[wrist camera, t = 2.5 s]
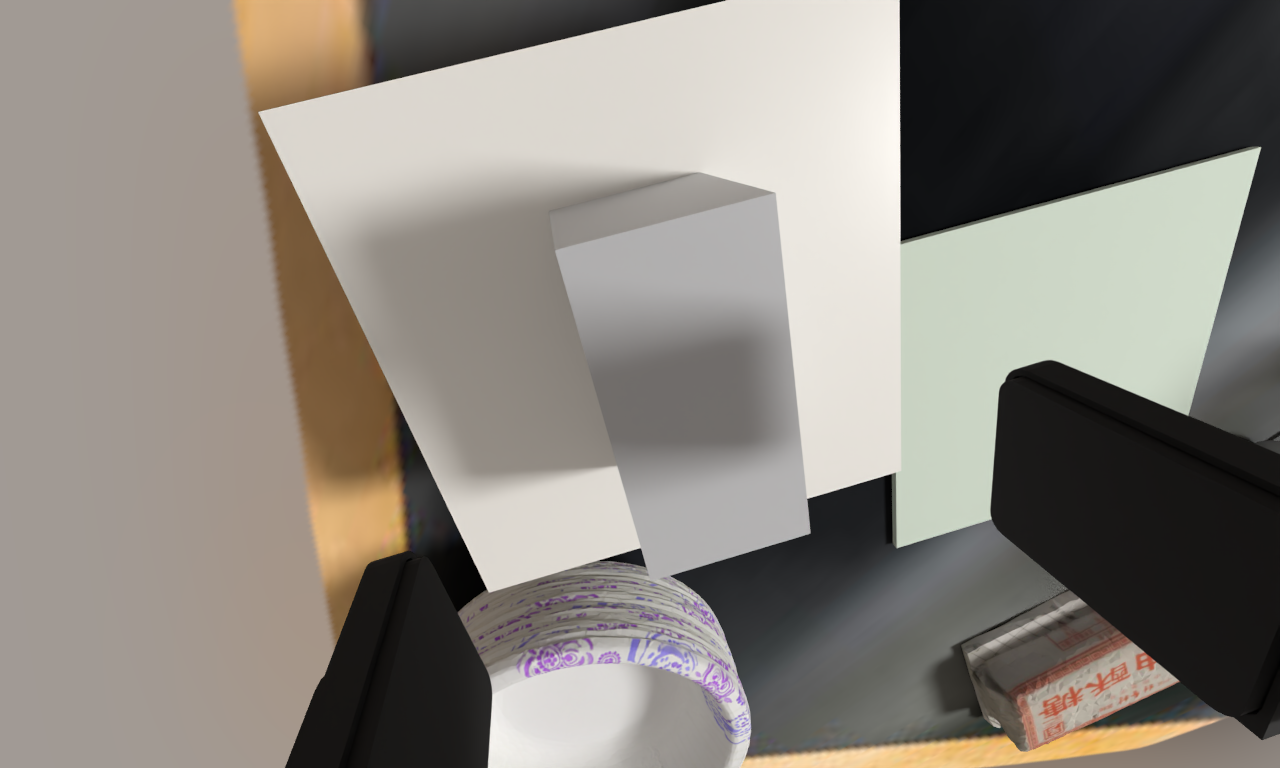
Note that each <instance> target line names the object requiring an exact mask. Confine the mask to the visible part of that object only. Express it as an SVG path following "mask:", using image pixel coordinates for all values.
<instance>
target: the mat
mask: <svg viewBox="0 0 1280 768" xmlns="http://www.w3.org/2000/svg"><path fill="white" fill-rule="evenodd" d="M1260 149H1261V147H1248V148H1245V149H1241V150H1237V151H1234V152H1230V153H1226V154H1223V155H1219V156H1215V157H1211V158H1208V159H1204V160H1200V161H1197V162H1193V163H1189V164H1185V165H1182V166H1178V167H1174V168H1171V169H1167V170H1163V171H1159V172H1156V173H1152V174H1148V175H1145V176H1141V177H1137V178H1134V179H1130V180H1126V181H1122V182H1119V183H1115V184H1111V185H1108V186H1104V187H1100V188H1096V189H1093V190H1089V191H1085V192H1082V193H1078V194H1074V195H1070V196H1067V197H1063V198H1059V199H1056V200H1052V201H1048V202H1045V203H1041V204H1037V205H1033V206H1030V207H1026V208H1022V209H1019V210H1015V211H1011V212H1007V213H1004V214H1000V215H996V216H993V217H989V218H985V219H981V220H978V221H974V222H970V223H967V224H963V225H959V226H956V227H952V228H948V229H944V230H941V231H937V232H933V233H930V234H926V235H922V236H918V237H915V238H911V239H907V240H904V241H900V279H901V471H899V472H896V473H892V525H893V544H894V545H895V547H896V548H899V547H902V546H905V545H908V544H912V543H915V542H918V541H922V540H925V539H928V538H932V537H935V536H938V535H941V534H945V533H948V532H951V531H955V530H958V529H961V528H964V527H968V526H971V525H974V524H978V523H981V522H984V521H987V520H991V519H992V518H991V514H990V506H991V493H992V479H993V465H994V452H995V438H996V424H997V411H998V397H999V389H1000V386H1001V385H1002V384H1003V383H1004V382H1005V379H1006V377H1007V375H1008V374H1009V372H1011V371H1013V370H1014V369H1018V368H1021V367H1024V366H1028V365H1031V364H1034V363H1038V362H1041V361H1045V360H1053V361H1058V362H1060V363H1063V364H1065V365H1067V366H1070V367H1072V368H1075V369H1077V370H1079V371H1082V372H1084V373H1087V374H1089V375H1091V376H1094V377H1096V378H1099V379H1101V380H1103V381H1106V382H1108V383H1111V384H1113V385H1115V386H1118V387H1120V388H1123V389H1125V390H1127V391H1130V392H1132V393H1135V394H1137V395H1139V396H1142V397H1144V398H1147V399H1149V400H1151V401H1154V402H1156V403H1159V404H1161V405H1163V406H1166V407H1168V408H1171V409H1173V410H1175V411H1178V412H1180V413H1183V414H1185V415H1187V416H1188V415H1189V411H1190V407H1191V404H1192V400H1193V396H1194V393H1195V389H1196V385H1197V382H1198V378H1199V374H1200V370H1201V367H1202V363H1203V359H1204V356H1205V352H1206V348H1207V345H1208V341H1209V337H1210V334H1211V330H1212V326H1213V322H1214V319H1215V315H1216V311H1217V308H1218V304H1219V300H1220V297H1221V293H1222V289H1223V286H1224V282H1225V278H1226V275H1227V271H1228V267H1229V263H1230V260H1231V256H1232V252H1233V249H1234V245H1235V241H1236V238H1237V234H1238V230H1239V227H1240V223H1241V219H1242V216H1243V212H1244V208H1245V204H1246V201H1247V197H1248V193H1249V190H1250V186H1251V182H1252V179H1253V175H1254V171H1255V168H1256V164H1257V160H1258V156H1259V153H1260Z"/></svg>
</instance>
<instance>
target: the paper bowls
mask: <svg viewBox="0 0 1280 768" xmlns="http://www.w3.org/2000/svg"><path fill="white" fill-rule="evenodd" d="M458 615H459V617H460V619H461V621H462V623H463V625H464V626H465V628H466V630H467V632H468V634H469V636H470V638H471V640H472V642H473V644H474V646H475V648H476V650H477V652H478V654H479V656H480V657H481V659H482V661H483V663H484V665H485V667H486V669H487V671H488V674H489V676H490V680H491V685H492V712H491V727H490V743H489V758H488V768H740V767H741V765H742V763H743V761H744V758H745V756H746V753H747V750H748V747H749V742H750V734H751V720H750V710H749V706H748V702H747V698H746V695H745V692H744V690H743V687H742V684H741V681H740V680H739V677H738V674H737V671H736V666H735V663H734V660H733V658H732V655H731V652H730V650H729V647H728V645H727V642H726V639H725V635H724V633H723V630H722V628H721V626H720V624H719V622H718V620H717V618H716V616H715V615H714V613H713V611H712V610H711V608H710V607H709V606H708V605H707V603H706V602H705V601H704V600H703V599H702V598H701V597H700V596H699V595H698V594H696V593H695V592H694V591H693V590H691V589H690V588H689V587H687V586H686V585H685V584H683V583H682V582H680V581H678V580H676V579H674V578H672V577H671V576H667V577H663V578H660V579H657V580H653V581H650V577H649V574H648V570H647V568H645V567H641V566H637V565H632V564H626V563H619V562H612V561H595V562H591V563H588V564H585V565H581V566H578V567H574V568H571V569H568V570H564V571H561V572H557V573H554V574H551V575H547V576H544V577H541V578H537V579H534V580H530V581H527V582H524V583H520V584H517V585H513V586H510V587H507V588H503V589H500V590H497V591H493V592H490V593H489V592H488V590H486V591H484V592H482V593H481V594H480V595H478V596H477V597H475V598H474V599H473V600H471V601H470V602H469V603H468V604H466V605H465V606H464V607H463V608H462V609H461V610H460V611H459V612H458Z"/></svg>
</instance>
